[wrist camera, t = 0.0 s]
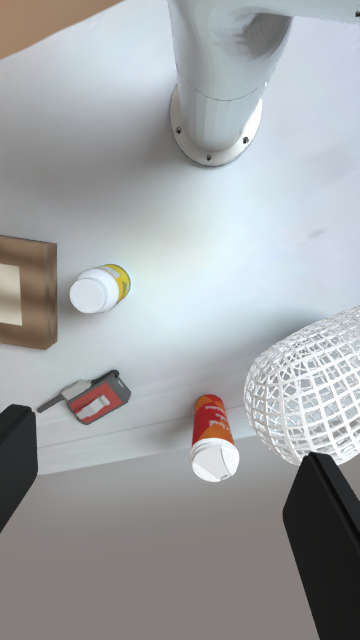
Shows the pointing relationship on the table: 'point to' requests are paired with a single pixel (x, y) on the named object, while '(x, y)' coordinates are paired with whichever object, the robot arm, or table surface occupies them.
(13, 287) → the stand
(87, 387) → the walkie-talkie
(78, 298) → the pill bottle
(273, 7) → the robot arm
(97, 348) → the table surface
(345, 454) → the heart
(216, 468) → the paper cup
